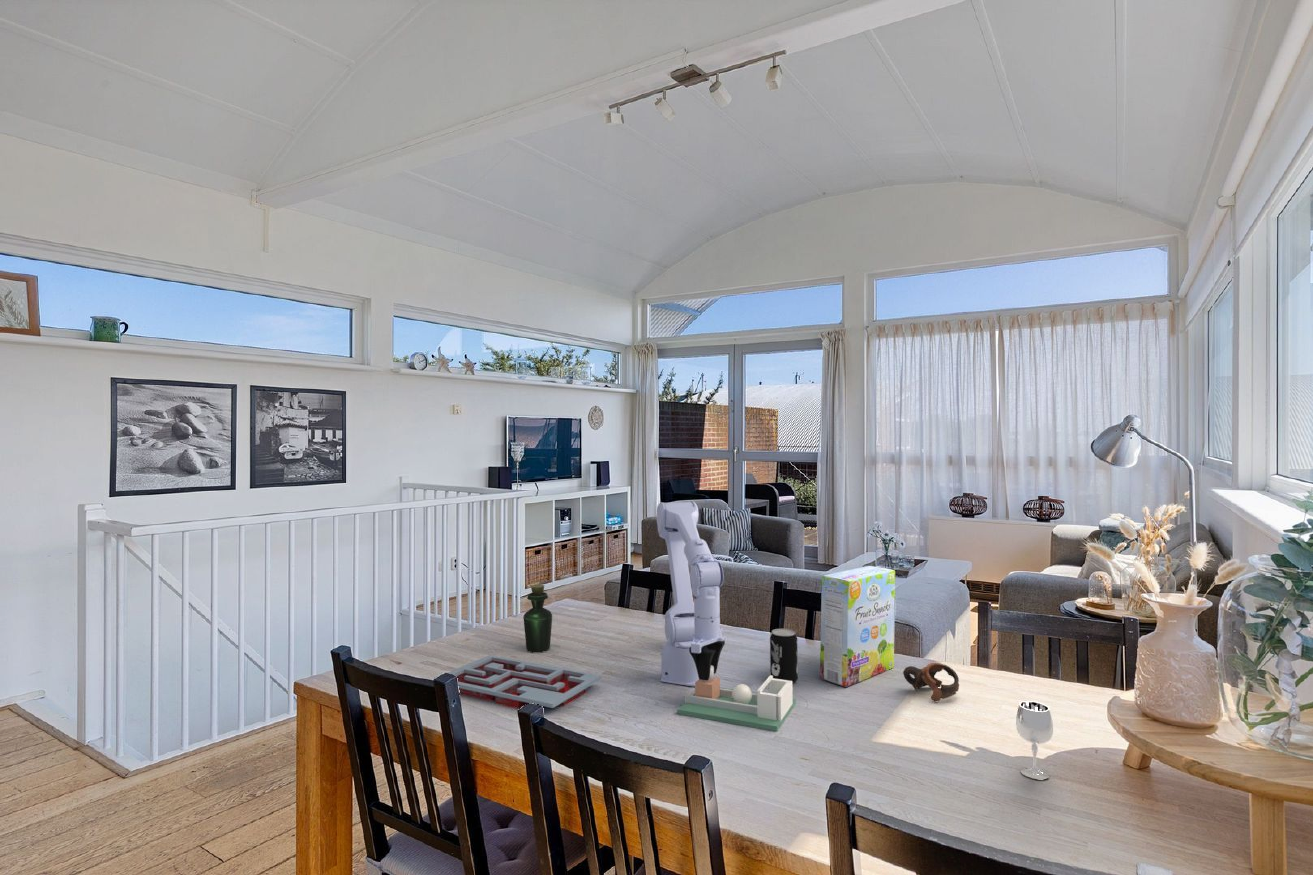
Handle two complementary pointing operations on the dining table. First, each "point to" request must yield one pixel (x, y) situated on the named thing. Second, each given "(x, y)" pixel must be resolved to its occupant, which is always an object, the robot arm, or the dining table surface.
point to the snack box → (857, 624)
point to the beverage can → (784, 655)
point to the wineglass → (1034, 727)
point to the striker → (708, 686)
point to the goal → (774, 699)
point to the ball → (742, 694)
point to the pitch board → (729, 710)
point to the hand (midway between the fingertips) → (707, 676)
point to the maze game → (521, 682)
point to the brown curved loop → (932, 680)
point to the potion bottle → (537, 621)
